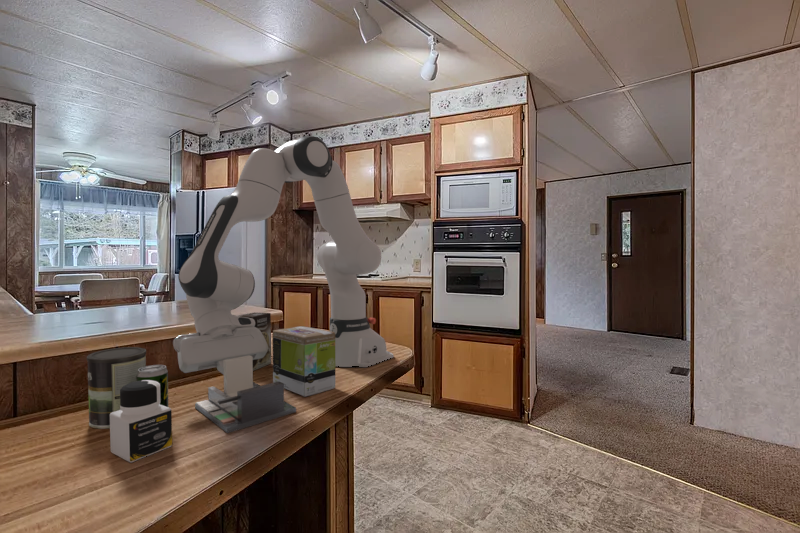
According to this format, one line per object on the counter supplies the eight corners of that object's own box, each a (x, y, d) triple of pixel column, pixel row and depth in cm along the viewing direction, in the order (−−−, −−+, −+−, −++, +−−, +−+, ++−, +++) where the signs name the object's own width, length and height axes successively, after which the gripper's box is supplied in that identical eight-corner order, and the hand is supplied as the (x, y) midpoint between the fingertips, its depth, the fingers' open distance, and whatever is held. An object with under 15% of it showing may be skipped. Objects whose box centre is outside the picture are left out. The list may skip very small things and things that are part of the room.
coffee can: (81, 432, 80) (79, 361, 80) (96, 413, 90) (94, 349, 89) (143, 424, 84) (141, 355, 84) (151, 406, 94) (149, 345, 93)
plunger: (250, 396, 97) (249, 355, 96) (268, 406, 90) (267, 362, 90) (204, 407, 89) (203, 363, 89) (220, 420, 83) (219, 372, 83)
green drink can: (137, 435, 79) (136, 373, 78) (137, 425, 83) (136, 367, 83) (170, 429, 82) (168, 369, 81) (167, 419, 86) (166, 363, 86)
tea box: (337, 388, 106) (336, 331, 106) (304, 398, 99) (303, 337, 98) (303, 376, 117) (303, 324, 116) (271, 384, 109) (270, 329, 109)
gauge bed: (258, 392, 103) (258, 364, 103) (296, 411, 90) (295, 380, 90) (195, 408, 93) (194, 377, 93) (227, 433, 80) (226, 397, 80)
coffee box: (253, 371, 121) (252, 316, 120) (235, 369, 123) (234, 315, 122) (272, 363, 130) (271, 312, 129) (255, 361, 132) (254, 311, 131)
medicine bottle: (130, 463, 68) (128, 392, 68) (109, 452, 72) (108, 385, 72) (173, 446, 75) (171, 381, 74) (152, 437, 78) (150, 374, 78)
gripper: (173, 328, 93) (189, 380, 87) (259, 318, 107) (278, 362, 101) (168, 344, 96) (182, 396, 90) (252, 332, 111) (270, 376, 104)
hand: (234, 378), depth 95 cm, fingers closed
